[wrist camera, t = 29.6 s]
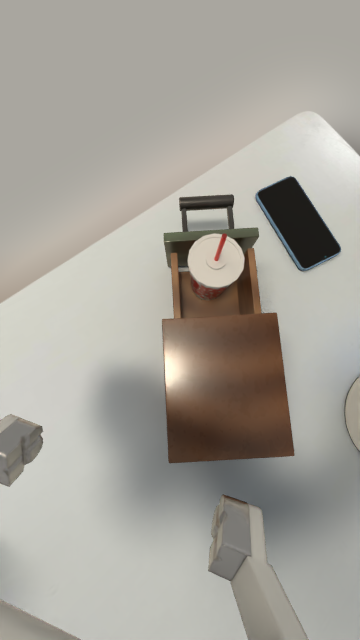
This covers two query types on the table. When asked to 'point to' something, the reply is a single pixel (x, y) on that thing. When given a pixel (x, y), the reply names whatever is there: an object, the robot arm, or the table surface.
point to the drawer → (177, 245)
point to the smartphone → (298, 223)
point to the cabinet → (225, 388)
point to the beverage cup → (214, 265)
